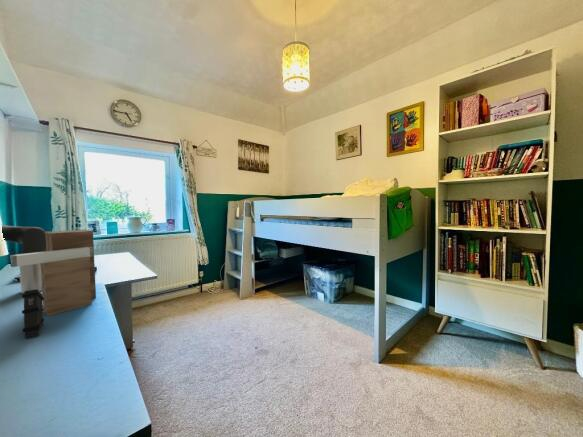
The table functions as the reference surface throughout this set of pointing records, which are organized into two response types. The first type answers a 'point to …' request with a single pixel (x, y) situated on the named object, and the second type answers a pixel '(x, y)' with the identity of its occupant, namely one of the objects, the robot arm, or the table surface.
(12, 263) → the bar
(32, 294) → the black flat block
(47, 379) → the table surface
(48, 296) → the wooden plank crate
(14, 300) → the table surface
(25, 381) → the table surface
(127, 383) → the table surface
